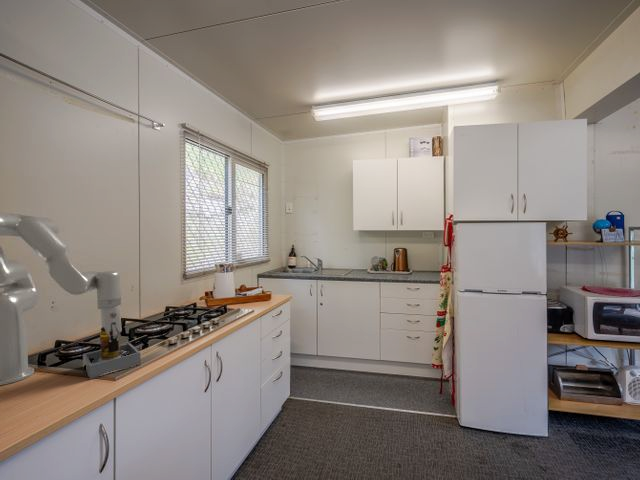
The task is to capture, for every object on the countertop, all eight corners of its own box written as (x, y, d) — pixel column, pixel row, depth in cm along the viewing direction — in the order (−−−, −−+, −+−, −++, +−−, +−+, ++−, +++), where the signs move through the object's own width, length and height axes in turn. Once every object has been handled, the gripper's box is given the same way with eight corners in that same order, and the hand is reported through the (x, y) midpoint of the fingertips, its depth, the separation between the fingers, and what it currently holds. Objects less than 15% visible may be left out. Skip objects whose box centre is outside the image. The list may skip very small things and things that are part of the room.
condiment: (97, 362, 115) (96, 330, 115) (102, 353, 123) (101, 324, 123) (120, 358, 118) (119, 327, 118) (124, 350, 126) (123, 321, 126)
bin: (90, 379, 109) (89, 365, 109) (83, 366, 120) (82, 354, 120) (140, 365, 121) (140, 352, 120) (130, 354, 131) (129, 342, 131)
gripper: (126, 304, 116) (128, 352, 117) (115, 298, 128) (117, 341, 129) (102, 308, 111) (104, 358, 111) (93, 301, 123) (95, 346, 123)
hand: (111, 348), depth 120 cm, fingers closed on condiment, 6 cm apart
